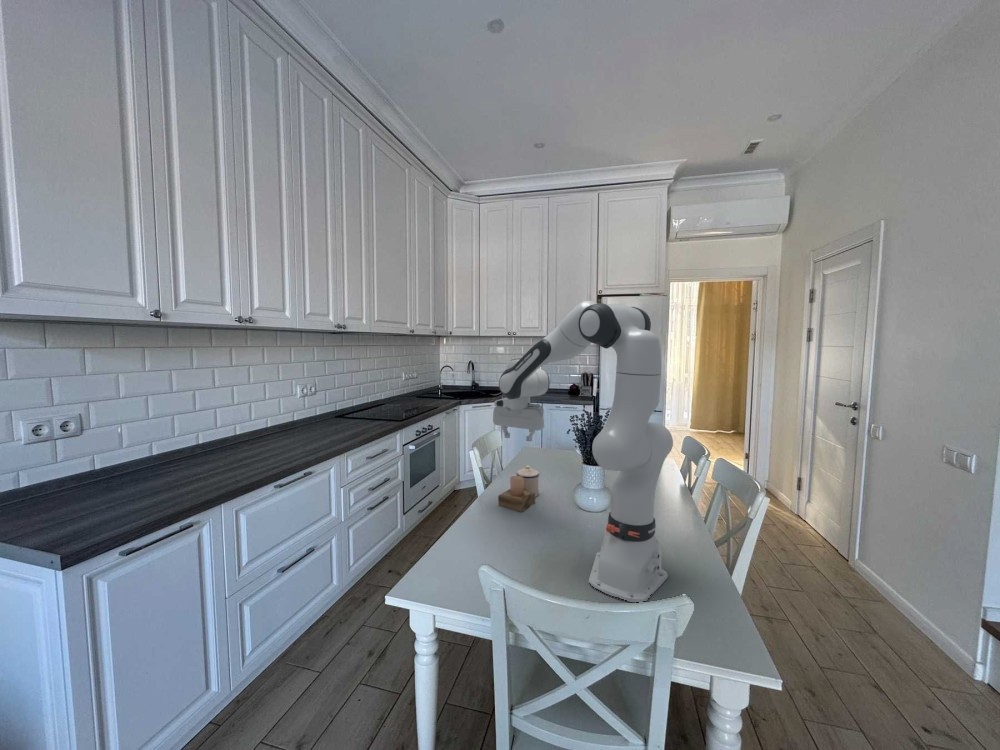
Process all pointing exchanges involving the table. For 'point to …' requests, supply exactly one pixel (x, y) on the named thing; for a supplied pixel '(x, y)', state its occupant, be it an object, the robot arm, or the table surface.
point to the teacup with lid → (529, 479)
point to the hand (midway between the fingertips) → (518, 439)
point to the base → (516, 501)
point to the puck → (516, 485)
